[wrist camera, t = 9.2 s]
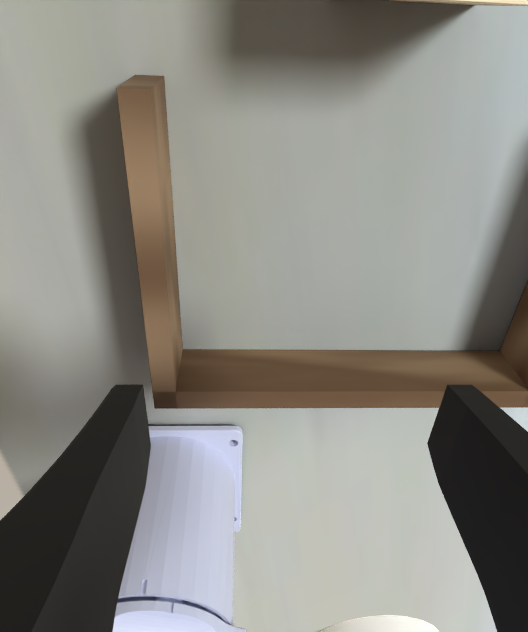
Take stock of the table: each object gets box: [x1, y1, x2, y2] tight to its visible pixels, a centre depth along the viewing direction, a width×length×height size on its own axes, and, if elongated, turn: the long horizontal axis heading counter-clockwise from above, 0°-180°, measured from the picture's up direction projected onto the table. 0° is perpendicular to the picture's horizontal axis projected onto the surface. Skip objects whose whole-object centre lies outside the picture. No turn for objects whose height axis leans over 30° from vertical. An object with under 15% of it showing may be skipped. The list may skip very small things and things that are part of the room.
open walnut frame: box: [117, 75, 528, 408], centre depth 19 cm, size 13×18×3 cm
